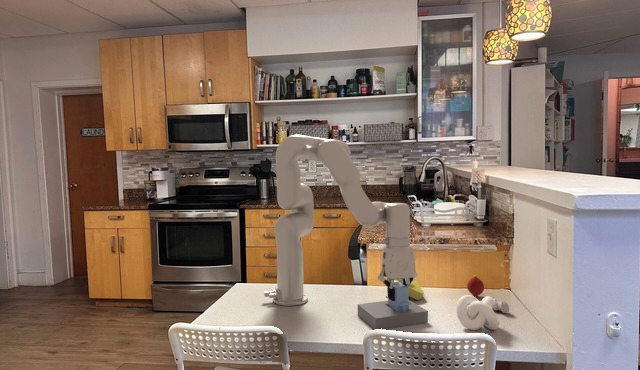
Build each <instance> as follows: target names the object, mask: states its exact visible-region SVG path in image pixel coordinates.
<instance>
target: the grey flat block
mask: <svg viewBox="0 0 640 370" xmlns="http://www.w3.org/2000/svg"><path fill="white" fill-rule="evenodd" d="M409 302H410V303H411V305H409V310H407V312H400V311H397V312H396V311H394V310H393V309H391V308H390V307H388V300H382V301H374V302H373V301H372V302H365V303H359V304H357V316H358V317H359V318H360V319H362V320H363V321H364V322H365V323H366V324H367V325H369V326H370V327H371V329H374V330H375V329H381V328H382V330H388V329H393V328H395V329H396V328H402V327H407V326H406V325H408V326H414V325H413V324H415V325H420V324H419V323H421V324H426V323H425V322H429V311H428V310H426V308H423V307H422V306H420V305H418V304H416V303H415V302H413V301H411V300H409ZM401 326H402V327H401Z"/></svg>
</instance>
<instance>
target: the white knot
mask: <svg viewBox="0 0 640 370" xmlns="http://www.w3.org/2000/svg"><path fill="white" fill-rule="evenodd" d="M492 298H493V297H491V296H490V295H487V296H485V297H483V298H482V299H481V300H479V299H478V298H476V297H474V296H473V295H472V294H465V295H462V296H461V297H459V299H458V301H457V303H456V314H457V317H458V320H459V323H460V324H461V325H462V326H463V327H464V328H465V329H467V330H469V329H471V330H470V331H477V330H480V329H482V327H485V328H487V329H488V330H490V331H491V330H493V331H494V330H497V329H498V328H499V325H500V321H499V318H498V315H497V314H496V312H495V310H492V307H493V305H494V300H493V299H492Z"/></svg>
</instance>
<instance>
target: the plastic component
mask: <svg viewBox="0 0 640 370" xmlns="http://www.w3.org/2000/svg"><path fill="white" fill-rule="evenodd" d="M394 281H399V283H401V284H403V283H402V279H396V280H394ZM386 290H387V291H386V292H387V293H388V287H387V286H386ZM424 294H425V292H424V290H423V288H421V285H419V283H418V281H416V278H415V279H413V281H412V282H411V283H410V286H409V298H412V299H414V300H416V301H421V300H422V298H423V296H424ZM420 299H421V300H420Z"/></svg>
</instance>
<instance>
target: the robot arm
mask: <svg viewBox="0 0 640 370" xmlns="http://www.w3.org/2000/svg"><path fill="white" fill-rule="evenodd" d="M350 157H351V149H350V146H349V145H348V144H347V143H346V142H345V141H343V140H339V139H331V138H330V139H328V138H322V137H321V138H320V137H316V136H308V135H302V134H294V135H293V134H292V135H289V136H287V137H284V139H283V140H281V142H279V143H278V146H277V149H276V151H275V166H276V199H277V203H278V207H280V208H281V209H282V210H284V211H285V210H286V211H290V213H286V214H283V215H281V216H279V217H278V218H277V219H276V221H275V222H274V226H273V232H274V237H275V244H276V275H277V276H276V284H277V286H275V288H274V289H273V290H270V291H269V290H267V291H266V290H265V291H264V292H263V293H264V294H263V295H264V297H265V298H267V297H268V298H269V299H272V302H273V303H274V304H276V305H279V306H282V307H283V306H286V307H290V306H291V307H292V306H293V307H294V306H300V305H303V304H305V303H307V302H308V300H309V299H308V298H309V296H308V295H307V294H306V293H304V249H303V244H302V241H301V238H303V237H306V236H308V235H309V234H311V232H312V231H313V230H314V224H315V216H314V215H315V213H314V210H315V209H314V194H313V191H312V189H311V187H309V185H307V184H306V183H303V182H301V181H302V180H301V168H300V166H299V163H298V161H299V160H307V161H308V160H309V161H310V160H311V161H317V162H321V163H322V164H323V166H324V167H325V168H326V169H327V171H328V172H329V173H330V175H331V176H332V178H333V179H334V181H335V182H336V184H337V185H338V187H339V190H340V194H341V196H342V200H343V201H344V203H345V206H346V207H347V209H348V211H349V212H350V213H351V214H352V216H353V217H354V219H355V220H356V221H357V222H358V223H359V224H360V225H361V226H363V227H364V228H365V227H367V228H373V227H375V226H378V225H383V224H385V237H384V239H382V240H381V242H382V244H384V247H383V251H382V257H381V271H380V273H379V274H378V276H377V280H379V281H380V282H381V283H383V284H384V285H385V286H386V288H387V287H388V292H387V296H388V298H389V299H390V300H392V301H395V289H394V288H393V286H394V280H396V279H402V283H403V285H405V286H407V287H409V286H410V283H411V282H412V281H413V279H415V280H416V278H417V277H418V276H419V275H418V273H417V271H416V259H415V253H414V248H413V245H411V234H410V233H411V227H410V226H411V225H410V224H411V222H410V219H411V217H410V216H411V214H410V213H411V209H410V206H409V204H408V203H405V202H391V203H390V202H383V201H378V200H377V201H371V200H370V198H369V197H368V195H367V194H366V193H365V191H364V189H363V186H362V184H361V175H362V174H361V171H360V169H359V167H357V165H356V164H355V163H354V161H353V160H352V159H351V158H350ZM388 298H387V299H388Z"/></svg>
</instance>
